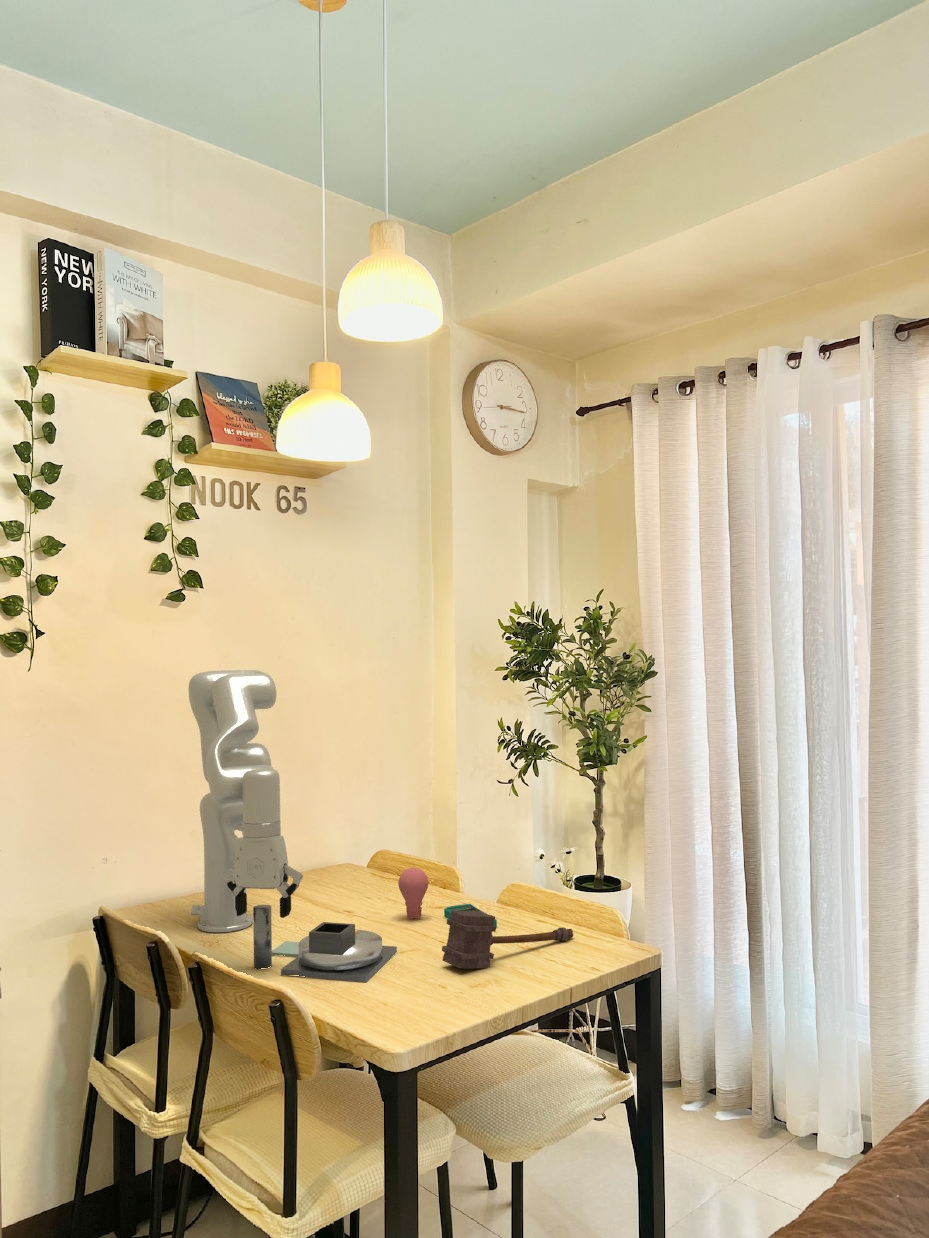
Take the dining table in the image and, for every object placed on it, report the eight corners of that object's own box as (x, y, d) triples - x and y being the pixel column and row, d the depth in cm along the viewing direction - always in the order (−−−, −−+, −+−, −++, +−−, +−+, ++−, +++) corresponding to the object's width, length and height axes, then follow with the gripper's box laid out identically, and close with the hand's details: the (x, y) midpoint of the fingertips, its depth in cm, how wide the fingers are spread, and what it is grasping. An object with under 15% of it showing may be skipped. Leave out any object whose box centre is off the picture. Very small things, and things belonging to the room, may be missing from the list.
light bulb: (411, 924, 213) (410, 873, 214) (392, 918, 219) (392, 867, 219) (434, 918, 218) (434, 867, 218) (416, 912, 223) (415, 862, 224)
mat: (269, 954, 194) (269, 952, 194) (285, 943, 201) (285, 940, 201) (303, 957, 192) (303, 954, 192) (317, 945, 199) (317, 943, 199)
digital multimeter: (469, 935, 206) (469, 921, 207) (443, 918, 220) (443, 905, 220) (498, 930, 210) (498, 917, 210) (470, 914, 223) (470, 901, 223)
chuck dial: (284, 966, 182) (283, 931, 182) (319, 939, 198) (319, 908, 198) (364, 972, 177) (364, 937, 178) (393, 945, 194) (393, 912, 194)
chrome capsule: (250, 968, 185) (250, 908, 186) (258, 962, 189) (258, 904, 189) (266, 970, 185) (266, 909, 185) (274, 964, 188) (274, 904, 188)
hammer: (439, 960, 185) (446, 909, 186) (557, 958, 204) (563, 912, 205) (459, 969, 179) (466, 916, 181) (578, 966, 198) (584, 919, 200)
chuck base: (280, 975, 181) (280, 969, 181) (318, 946, 199) (318, 940, 199) (366, 982, 177) (366, 975, 177) (396, 952, 194) (396, 946, 194)
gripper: (214, 832, 186) (215, 918, 185) (292, 834, 182) (294, 921, 181) (233, 826, 193) (234, 908, 192) (308, 827, 189) (310, 912, 188)
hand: (263, 915), depth 187 cm, fingers open, 9 cm apart
